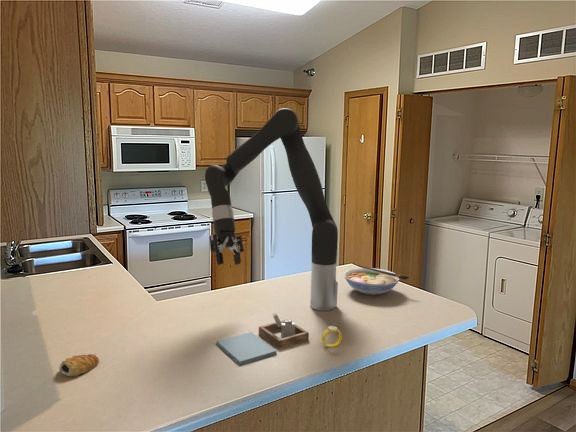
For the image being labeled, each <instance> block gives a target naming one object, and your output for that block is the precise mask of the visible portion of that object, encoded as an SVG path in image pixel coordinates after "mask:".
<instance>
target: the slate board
mask: <svg viewBox="0 0 576 432" xmlns="http://www.w3.org/2000/svg"><path fill="white" fill-rule="evenodd" d="M216 345H217V346H218V347H219V348H220V349H222V351H223V352H225V354H227V355H228V356H230V358H231V359H233V360H234V361H235V362H236V363H237V364H238V365H239V366H241V365H245V364H247V363H251V362H254V361H257V360H262V359H264V358H268V357H270V356H274V355H277V353H278V352H277V350H276V349H275V348H274V347H272V346H271V345H269V344H268V343H267V342H265V341H264V340H263V339H261V338H260V337H259V336H257V335H256V334H254V333H253V332H252V331H249V332H246V333H241V334H238V335H235V336H229V337H227V338H223V339H222V338H221V339H219V340H216Z"/></svg>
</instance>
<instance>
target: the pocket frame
mask: <svg viewBox="0 0 576 432" xmlns="http://www.w3.org/2000/svg"><path fill="white" fill-rule="evenodd" d="M285 320H286V319H284V320H280V321H281V323H285ZM276 331H281V326H280V327H278V325H277V323H276V321H274V322H272V323H267V324H264V325H260V326H258V334H259V335H260V336H261V337H263V338H264V339H265V340H267V341H268V342H270V343H271V344H273V345H274V347H276V348H277V349H282V348H285V347H289V346H292V345H295V344H300V343H303V342H305V341H306V342H307V341H308V340H309V336H310V333H309V332H308V331H307V330H305V329H304V328H302V327H300V326H298V325H297V324H296V323H295V335H292V336H289V337H285V338H282V337H281V338H280V337H278V336H277V335H276V334H274V333H273V332H276Z"/></svg>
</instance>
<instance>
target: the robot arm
mask: <svg viewBox="0 0 576 432" xmlns="http://www.w3.org/2000/svg"><path fill="white" fill-rule="evenodd" d="M299 121H300V120H299V117H298V116H297V113H296V112H295V111H293V110H292V109H290V108H286V107H285V108H280V109H278V110H276V111H275V112H274V114H273V115H272V116H271V117H270V119H268V121H267V122H266V123H265V124H264V125H263V126H262V127H261V128H260V129H259V130H258V131H257V132H256V133H255V134H253V135H252V136H251V137H250V138H248V139H247V140H246V141H245V142H243V143H242V144H239V146H238V147H236V149H234V150H233V151H232V152H231V153H229V154H228V155H226V158H225V161H226V163H225V164H224V165H223V166H220V165H217V164H211V165H209V166H207V168H206V169H205V172H204V181H205V184H206V187H207V191H208V193H209V196H210V200H211V201H210V202H211V210H212V211H211V213H212V214H211V216H212V221H213V222H212V224H213V230H214V233H213V234H211V235H209V237H208V238H209V246H210V247H209V248H210V252H211V253H214V254H215V257H216V258H215V260H216V262H217V265H218V266H221V265H224V264H225V263H224V255H223V251H224V249H229V250H230V251H231V252H232V253H233V259H234V260H233V261H234V266H235V265H236V266H238V265H241V263H242V260H241V253H242V252H243V253H244V251H245V249H244V243H243V238H242V236H241V235H238V236H236V235H235V232H236V222H235V216H234V210H233V206H232V205H233V204H232V199H231V195H230V192H229V191H228V190H227V189H226V187H227V186H228V185H230V184H231V183H232V182H233V180H234V179H236V177H237V176H238V175H239V173H240V172H241V171H242V170H243V169H245V168H246V167H247V166H248V165H250V164H251V163H252V162H253V161H254V160H255V159H257V158H258V156H259V155H261V154H262V153H263V152H264V151H265V150H266V149H267V148H268V147H269V146H270V145H271V144H273V143H274V142H276V141H277V140H279V139H280V140H281V142H282V145H283V147H284V150H285V153H286V158H287V163H288V164H287V165H288V168H289V172H290V174H291V178H292V181H293V183H294V186H295V189H296V191H297V193H298V195H299V197H300V199H301V200H302V202H303V204H304V205H305V207H306V211H308V215H309V218H310V222H311V226H312V231H311V271H310V273H311V274H310V277H311V278H310V303H309V304H310V305H309V306H310V308H311V309H314V310H317V311H323V312H324V311H332V310H334V309H335V308H336V307H338V286H339V285H338V284H339V282H338V281H336V280H337V261H338V244H339V243H338V240H339V239H338V238H339V237H338V236H339V232H338V226H337V224H336V221H335V220H334V218H333V216H332V213H331V211H330V209H329V208H328V205H327V203H326V198H325V193H324V189H323V186H322V183H321V178H320V175H319V174H318V171H317V168H316V166H315V163H314V160H313V158H312V156H311V154H310V152H309V150H308V149H307V147H306V144H305V141H304V139H303V135H302V131H301V126H300V122H299Z"/></svg>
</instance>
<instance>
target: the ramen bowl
mask: <svg viewBox="0 0 576 432" xmlns="http://www.w3.org/2000/svg"><path fill="white" fill-rule="evenodd" d="M343 276H344V279H345V280H346V282H347V283H348V285H349V286H350V287H351V288H352V289H353V290H355V291H357V292H360V293H361V294H364V295H367V296H378V295H380V294H381V295H382V294H385V293H388V292H389V291H391V290H393V288H395V286H396V285H397V284H398V282H399V281H400V279H402V280H407V279H409V276H406V275H402V274H397V273H395V272H392V271H391V270H387V269H381V268H374V267H368V266H367V267H366V266H362V265H356V268H355V267H354V268H350V269H348V270H345V271H344V273H343Z"/></svg>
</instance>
